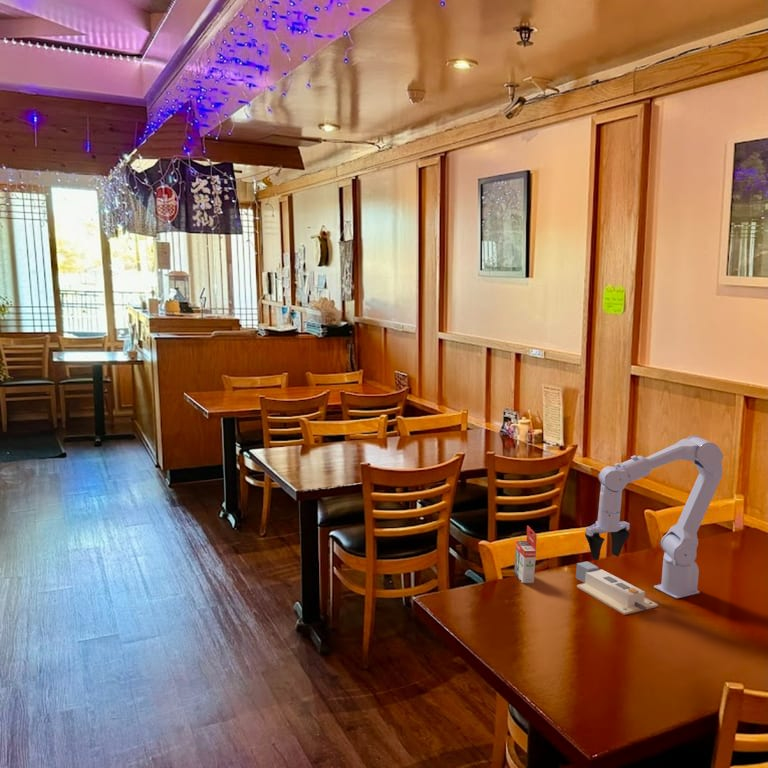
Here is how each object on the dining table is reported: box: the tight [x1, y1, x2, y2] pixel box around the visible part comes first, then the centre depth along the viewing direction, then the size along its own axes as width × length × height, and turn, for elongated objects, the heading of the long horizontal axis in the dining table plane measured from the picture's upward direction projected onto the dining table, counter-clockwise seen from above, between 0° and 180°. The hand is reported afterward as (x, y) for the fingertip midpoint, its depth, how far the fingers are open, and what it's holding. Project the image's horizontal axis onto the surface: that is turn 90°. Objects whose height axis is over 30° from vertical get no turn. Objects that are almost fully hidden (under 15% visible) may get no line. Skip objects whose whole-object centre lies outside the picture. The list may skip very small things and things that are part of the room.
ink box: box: [513, 525, 538, 584], centre depth 195 cm, size 4×8×15 cm, turn 7°
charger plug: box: [575, 561, 599, 584], centre depth 193 cm, size 4×8×4 cm, turn 26°
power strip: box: [576, 569, 659, 615], centre depth 184 cm, size 12×19×4 cm, turn 26°
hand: (605, 556), depth 188 cm, fingers open, 7 cm apart
